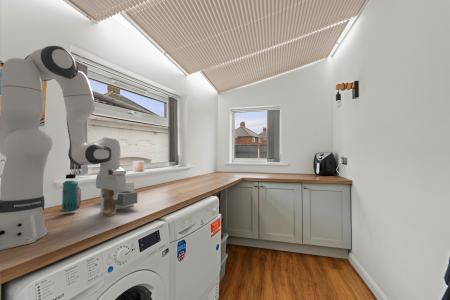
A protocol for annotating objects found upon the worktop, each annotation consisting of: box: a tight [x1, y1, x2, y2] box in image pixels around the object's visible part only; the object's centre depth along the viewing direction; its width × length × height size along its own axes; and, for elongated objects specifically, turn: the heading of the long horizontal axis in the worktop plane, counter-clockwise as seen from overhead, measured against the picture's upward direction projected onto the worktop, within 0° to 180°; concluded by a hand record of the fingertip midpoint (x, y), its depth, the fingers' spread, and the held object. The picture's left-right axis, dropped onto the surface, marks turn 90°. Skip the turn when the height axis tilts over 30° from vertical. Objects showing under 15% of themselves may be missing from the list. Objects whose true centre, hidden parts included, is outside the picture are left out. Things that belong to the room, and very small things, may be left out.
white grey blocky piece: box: [100, 181, 138, 213], centre depth 116 cm, size 18×12×14 cm, turn 148°
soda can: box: [77, 185, 82, 209], centre depth 119 cm, size 7×7×12 cm
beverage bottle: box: [61, 173, 79, 213], centre depth 108 cm, size 6×7×20 cm
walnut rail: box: [103, 188, 117, 217], centre depth 105 cm, size 4×4×16 cm
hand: (109, 198), depth 105 cm, fingers open, 8 cm apart
